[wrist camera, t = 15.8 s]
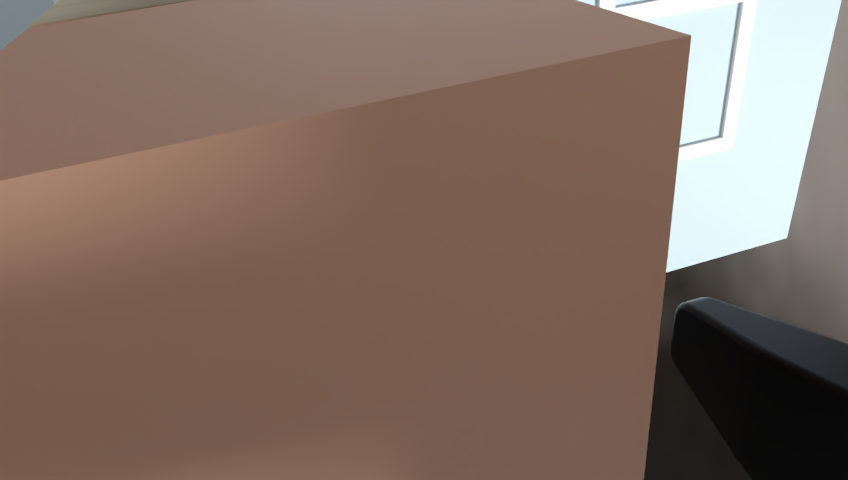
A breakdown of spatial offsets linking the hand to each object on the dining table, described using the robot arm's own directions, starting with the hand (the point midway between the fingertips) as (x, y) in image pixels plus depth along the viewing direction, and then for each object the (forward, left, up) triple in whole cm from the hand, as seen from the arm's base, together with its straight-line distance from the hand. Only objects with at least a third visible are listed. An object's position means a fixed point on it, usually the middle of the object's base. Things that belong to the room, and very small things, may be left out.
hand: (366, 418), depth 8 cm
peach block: (0, -2, -3) cm, 4 cm away
